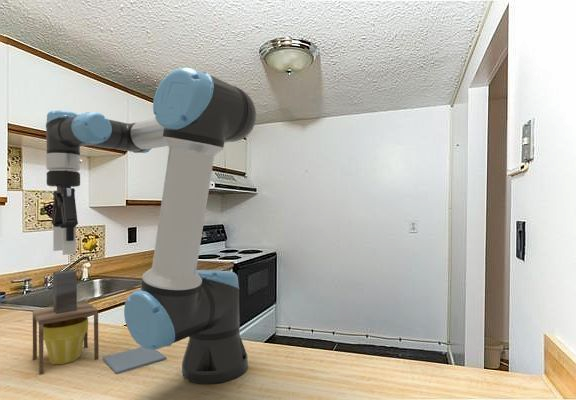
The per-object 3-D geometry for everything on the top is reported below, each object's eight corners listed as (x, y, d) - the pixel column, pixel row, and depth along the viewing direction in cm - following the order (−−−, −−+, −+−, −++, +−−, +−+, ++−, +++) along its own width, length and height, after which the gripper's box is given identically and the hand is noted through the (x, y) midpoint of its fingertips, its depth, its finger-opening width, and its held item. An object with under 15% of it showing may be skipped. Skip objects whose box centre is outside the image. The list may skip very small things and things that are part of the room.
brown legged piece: (98, 359, 93) (97, 271, 94) (39, 374, 85) (38, 278, 85) (87, 346, 102) (86, 266, 103) (32, 359, 94) (32, 272, 95)
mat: (166, 359, 92) (166, 357, 92) (116, 374, 84) (116, 371, 84) (149, 346, 101) (149, 344, 101) (102, 359, 93) (102, 357, 93)
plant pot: (72, 367, 88) (72, 327, 89) (31, 368, 88) (31, 327, 89) (96, 351, 99) (95, 314, 99) (58, 351, 99) (58, 315, 99)
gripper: (91, 167, 88) (91, 254, 88) (70, 175, 107) (70, 247, 106) (54, 165, 83) (55, 257, 83) (39, 174, 102) (40, 250, 102)
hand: (64, 252), depth 95 cm, fingers open, 13 cm apart
